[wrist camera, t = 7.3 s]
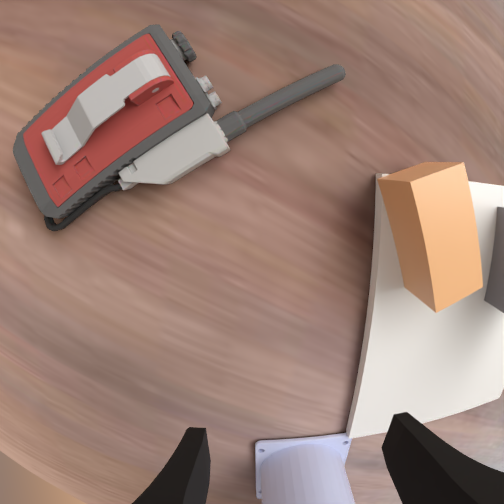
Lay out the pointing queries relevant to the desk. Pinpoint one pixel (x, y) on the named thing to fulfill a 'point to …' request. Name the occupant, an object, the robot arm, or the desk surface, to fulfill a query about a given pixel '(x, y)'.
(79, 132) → the walkie-talkie
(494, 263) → the charcoal brick
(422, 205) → the terracotta brick
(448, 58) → the desk surface
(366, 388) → the baseplate
